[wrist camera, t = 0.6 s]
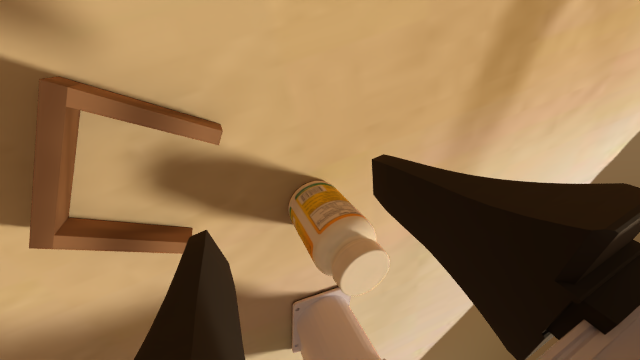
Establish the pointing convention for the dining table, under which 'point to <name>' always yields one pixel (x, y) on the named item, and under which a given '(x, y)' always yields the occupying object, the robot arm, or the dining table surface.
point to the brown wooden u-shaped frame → (58, 166)
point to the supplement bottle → (338, 238)
